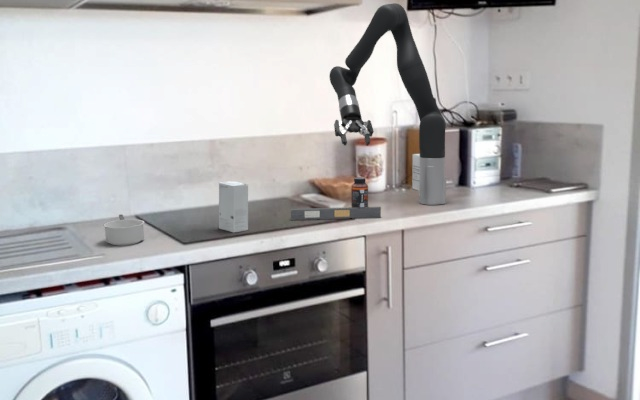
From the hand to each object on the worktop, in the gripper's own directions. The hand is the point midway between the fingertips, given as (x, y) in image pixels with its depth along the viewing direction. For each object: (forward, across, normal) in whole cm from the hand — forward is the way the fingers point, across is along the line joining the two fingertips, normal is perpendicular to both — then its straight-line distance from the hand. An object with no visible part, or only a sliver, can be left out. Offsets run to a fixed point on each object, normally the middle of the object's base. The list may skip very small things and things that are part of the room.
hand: (356, 144), depth 234 cm
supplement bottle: (+23, -1, +8) cm, 25 cm away
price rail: (+32, -13, -2) cm, 35 cm away
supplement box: (+1, +38, +31) cm, 49 cm away
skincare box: (+37, -48, -5) cm, 61 cm away
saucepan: (+40, -81, -6) cm, 90 cm away
